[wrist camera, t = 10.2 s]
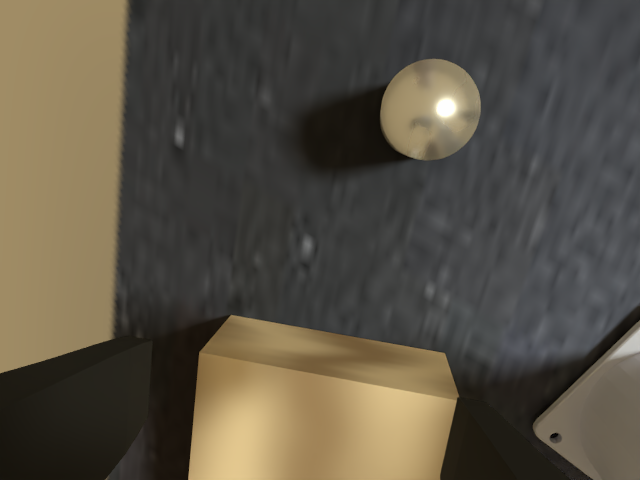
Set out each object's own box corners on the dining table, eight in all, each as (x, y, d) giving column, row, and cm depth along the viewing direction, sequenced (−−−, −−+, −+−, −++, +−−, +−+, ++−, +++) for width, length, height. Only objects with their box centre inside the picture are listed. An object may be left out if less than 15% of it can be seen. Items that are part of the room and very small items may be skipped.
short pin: (475, 109, 19) (501, 99, 15) (424, 172, 19) (436, 179, 15) (413, 60, 19) (423, 37, 15) (364, 126, 19) (361, 121, 15)
